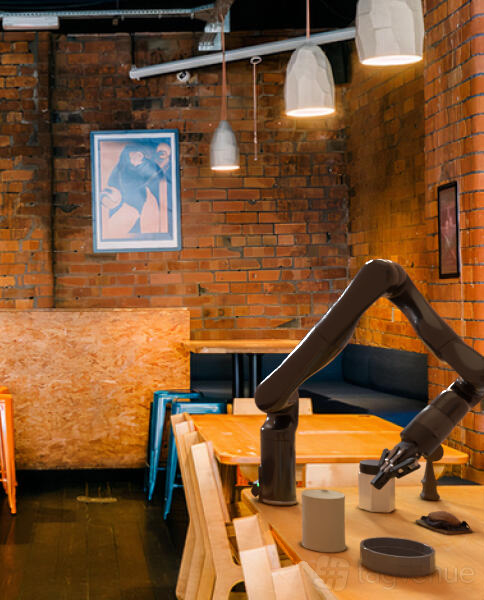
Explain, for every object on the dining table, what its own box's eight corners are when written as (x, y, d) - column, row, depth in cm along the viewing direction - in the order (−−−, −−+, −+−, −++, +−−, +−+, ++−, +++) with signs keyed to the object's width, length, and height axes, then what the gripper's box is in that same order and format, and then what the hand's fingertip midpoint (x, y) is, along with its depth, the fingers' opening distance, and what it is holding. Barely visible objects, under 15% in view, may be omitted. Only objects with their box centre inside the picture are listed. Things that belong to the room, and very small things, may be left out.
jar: (366, 502, 213) (365, 458, 213) (398, 507, 207) (397, 461, 208) (354, 509, 206) (354, 463, 206) (388, 514, 201) (387, 467, 201)
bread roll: (412, 523, 193) (412, 508, 193) (441, 520, 195) (441, 505, 195) (445, 535, 183) (445, 519, 183) (475, 532, 185) (475, 516, 185)
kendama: (437, 495, 220) (436, 423, 220) (446, 503, 211) (445, 428, 211) (414, 494, 222) (413, 422, 222) (421, 502, 213) (420, 427, 213)
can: (347, 542, 177) (346, 489, 178) (344, 554, 169) (344, 498, 169) (303, 538, 181) (303, 485, 181) (299, 549, 173) (298, 494, 173)
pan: (355, 570, 159) (355, 550, 159) (366, 552, 171) (365, 533, 171) (432, 582, 152) (432, 561, 152) (437, 562, 164) (437, 542, 164)
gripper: (400, 415, 184) (349, 468, 183) (432, 423, 171) (377, 481, 170) (422, 437, 184) (371, 491, 184) (456, 448, 171) (401, 506, 170)
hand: (374, 486), depth 177 cm, fingers closed
